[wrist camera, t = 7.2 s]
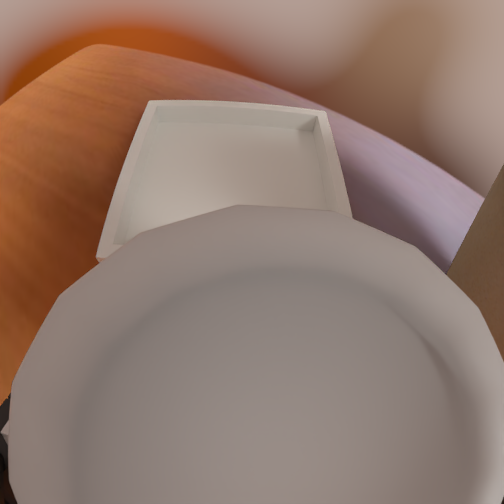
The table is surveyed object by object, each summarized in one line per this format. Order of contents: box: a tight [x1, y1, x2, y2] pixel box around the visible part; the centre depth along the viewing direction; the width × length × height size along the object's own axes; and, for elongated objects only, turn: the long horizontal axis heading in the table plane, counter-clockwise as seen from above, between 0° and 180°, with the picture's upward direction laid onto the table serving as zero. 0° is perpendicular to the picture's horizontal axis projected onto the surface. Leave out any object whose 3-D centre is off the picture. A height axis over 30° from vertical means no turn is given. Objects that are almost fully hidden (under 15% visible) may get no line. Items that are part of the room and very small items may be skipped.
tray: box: [96, 100, 353, 263], centre depth 25 cm, size 17×17×3 cm
